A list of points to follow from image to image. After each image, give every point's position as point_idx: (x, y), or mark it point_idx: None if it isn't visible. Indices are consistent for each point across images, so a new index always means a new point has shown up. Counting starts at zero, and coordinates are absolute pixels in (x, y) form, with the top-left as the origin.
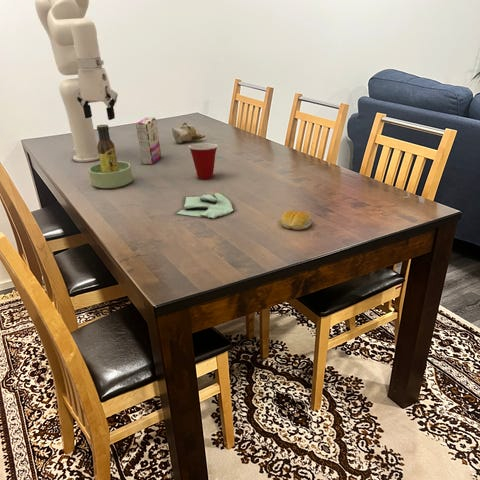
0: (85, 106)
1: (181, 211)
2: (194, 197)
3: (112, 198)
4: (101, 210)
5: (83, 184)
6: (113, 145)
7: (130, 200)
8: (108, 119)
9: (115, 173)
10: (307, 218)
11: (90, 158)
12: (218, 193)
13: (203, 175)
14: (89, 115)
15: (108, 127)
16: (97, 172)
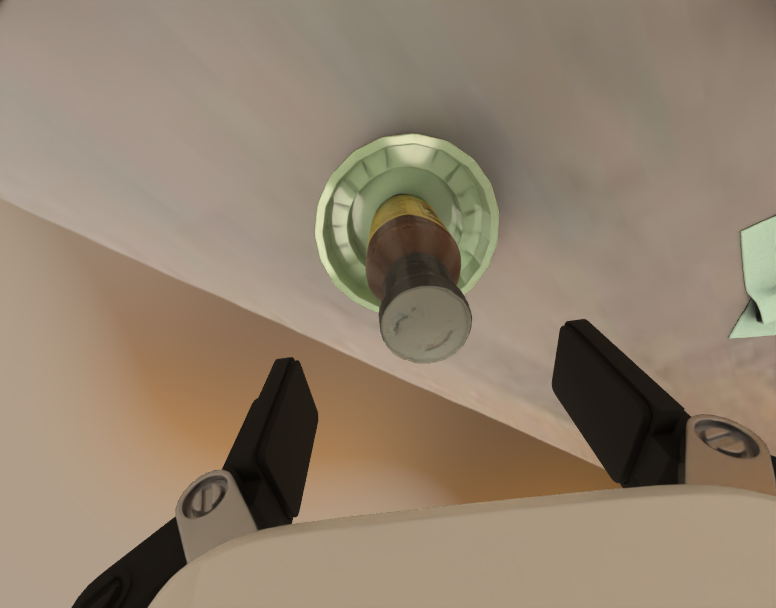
0: (281, 509)
1: (742, 325)
2: (774, 223)
3: (496, 325)
4: (517, 388)
5: (315, 273)
6: (458, 253)
7: (558, 316)
8: (557, 390)
9: (476, 279)
10: None
11: None
12: None
13: None
14: (304, 399)
15: (462, 294)
16: (335, 235)
